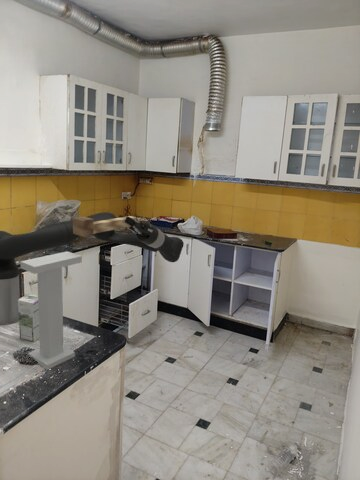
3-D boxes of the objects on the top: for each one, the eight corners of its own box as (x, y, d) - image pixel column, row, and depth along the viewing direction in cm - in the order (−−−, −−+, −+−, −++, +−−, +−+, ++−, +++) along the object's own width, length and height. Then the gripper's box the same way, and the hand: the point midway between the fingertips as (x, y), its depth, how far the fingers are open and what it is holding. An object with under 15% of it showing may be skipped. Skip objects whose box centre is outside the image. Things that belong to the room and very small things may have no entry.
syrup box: (44, 334, 133) (43, 295, 129) (33, 342, 127) (32, 302, 124) (30, 331, 134) (28, 293, 131) (19, 339, 129) (17, 299, 125)
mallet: (127, 223, 138) (128, 210, 137) (137, 225, 135) (138, 212, 134) (73, 233, 120) (72, 218, 119) (83, 236, 117) (82, 220, 116)
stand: (66, 341, 129) (64, 250, 122) (85, 351, 124) (84, 257, 116) (22, 359, 117) (17, 260, 109) (41, 372, 111) (37, 268, 104)
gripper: (161, 248, 141) (133, 231, 128) (134, 241, 149) (104, 224, 136) (168, 229, 143) (141, 211, 129) (141, 223, 151) (112, 205, 137)
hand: (122, 218), depth 132 cm, fingers closed on mallet, 3 cm apart
